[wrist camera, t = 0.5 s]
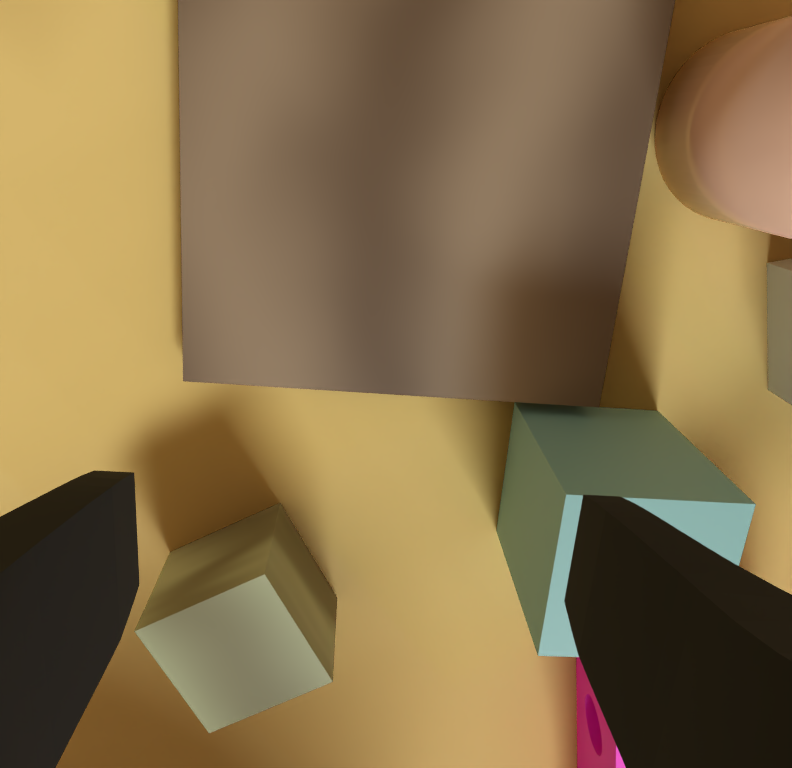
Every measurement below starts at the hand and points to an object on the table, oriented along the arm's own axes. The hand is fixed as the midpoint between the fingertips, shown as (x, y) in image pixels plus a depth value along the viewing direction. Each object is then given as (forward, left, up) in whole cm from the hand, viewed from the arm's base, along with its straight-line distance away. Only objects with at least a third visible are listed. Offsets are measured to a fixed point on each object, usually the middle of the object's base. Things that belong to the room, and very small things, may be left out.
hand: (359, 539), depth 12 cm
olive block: (+3, +8, -10) cm, 13 cm away
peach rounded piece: (-10, -7, -10) cm, 16 cm away
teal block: (-7, +3, -10) cm, 13 cm away
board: (-1, -7, -10) cm, 13 cm away
